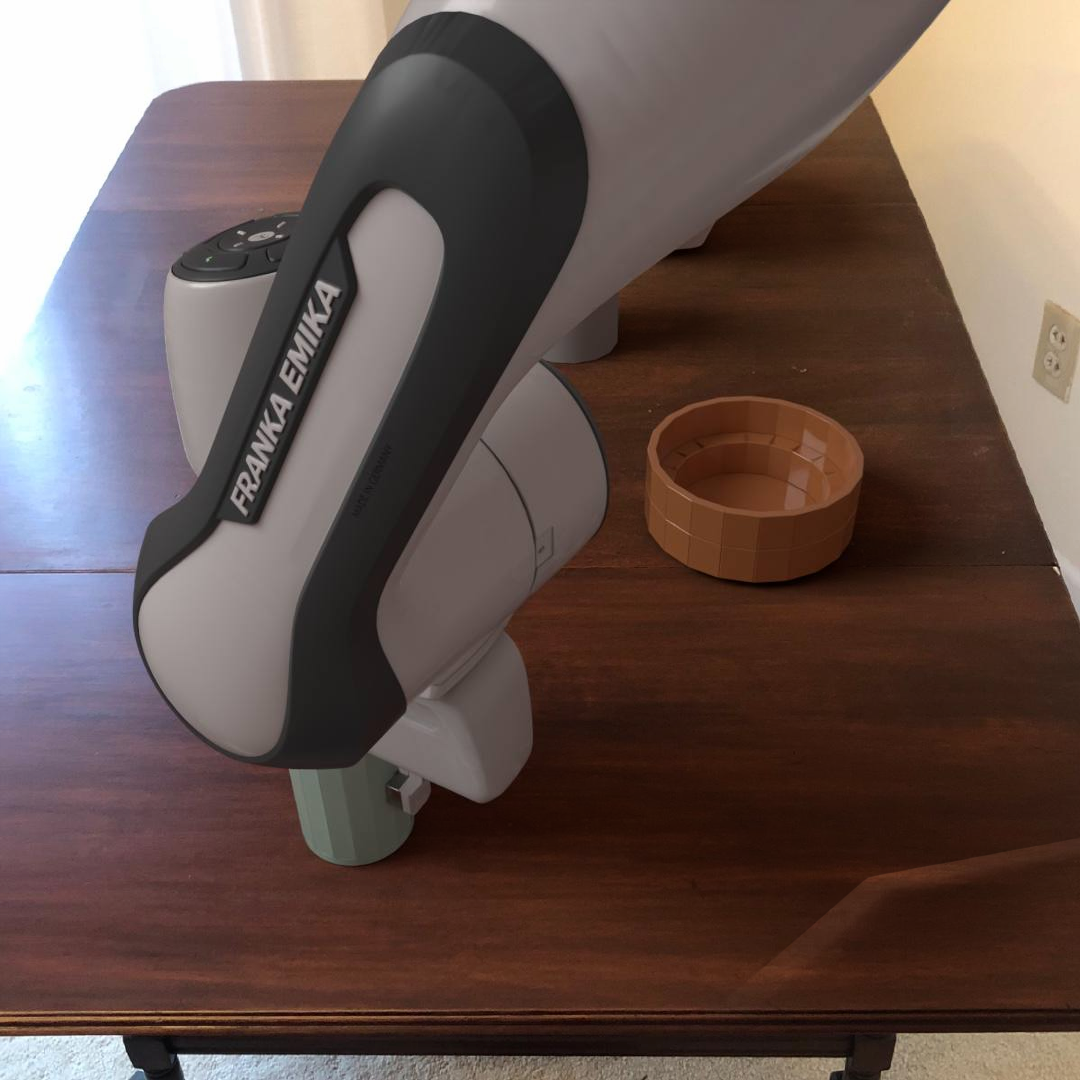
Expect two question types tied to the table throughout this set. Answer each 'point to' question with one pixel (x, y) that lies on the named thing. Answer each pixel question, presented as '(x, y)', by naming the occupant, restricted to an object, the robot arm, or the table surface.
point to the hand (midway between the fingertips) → (351, 774)
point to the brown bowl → (752, 488)
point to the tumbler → (350, 812)
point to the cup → (589, 336)
